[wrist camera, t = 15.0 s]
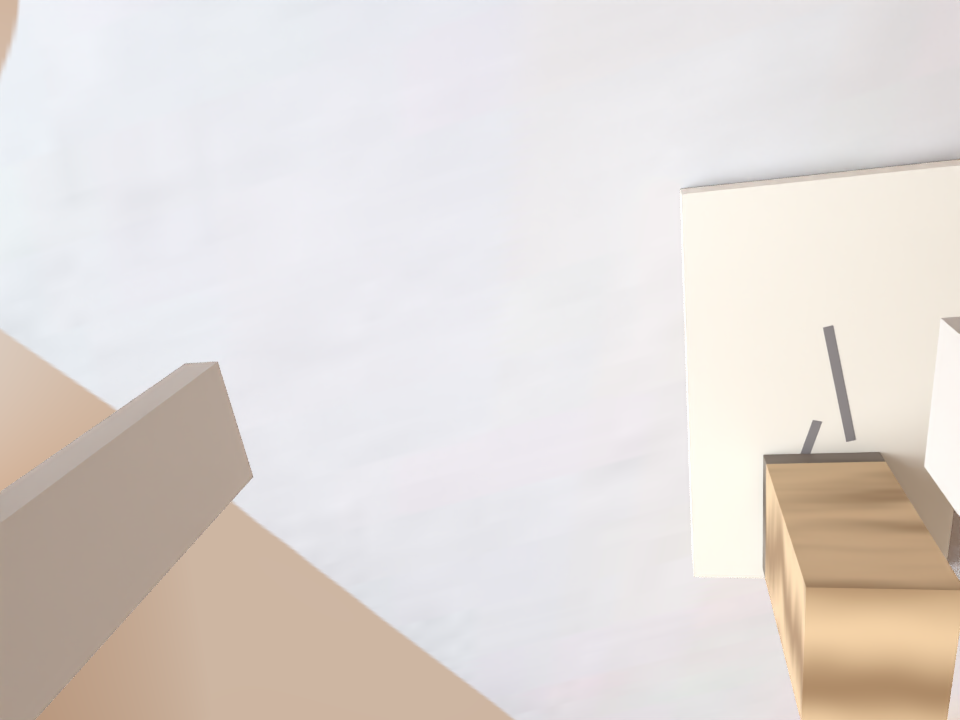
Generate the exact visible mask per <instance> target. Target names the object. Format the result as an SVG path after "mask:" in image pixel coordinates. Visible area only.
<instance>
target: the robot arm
mask: <svg viewBox="0 0 960 720" xmlns="http://www.w3.org/2000/svg"><path fill="white" fill-rule="evenodd" d="M924 467H925V468H926V470H927V471H928V472H929V474H930V475H931V477H932V478H933V480H934V481H935V482H936V484H937V485H938V487H939V488H940V490H941V491H942V492H943V494H944V495H945V497H946V498H947V500H948V501H949V502H950V504H951V505H952V507H953V508H954V509H955V511H956V512H957V514H958V515H959V517H960V317H948V318H941V319H940V328H939V337H938V346H937V355H936V364H935V373H934V382H933V391H932V400H931V409H930V418H929V427H928V436H927V445H926V454H925V463H924ZM252 478H253V475H252V471H251V468H250V465H249V462H248V458H247V455H246V452H245V449H244V445H243V442H242V439H241V436H240V432H239V429H238V426H237V423H236V419H235V416H234V413H233V410H232V407H231V403H230V400H229V397H228V394H227V390H226V387H225V384H224V381H223V377H222V374H221V371H220V368H219V364H218V362H204V363H187V364H184V365H182V366H181V367H180V368H178V369H177V370H175V371H174V372H172V373H171V374H169V375H168V376H167V377H165V378H164V379H162V380H161V381H159V382H158V383H156V384H155V385H154V386H152V387H151V388H149V389H148V390H146V391H145V392H143V393H142V394H141V395H139V396H138V397H136V398H135V399H133V400H132V401H130V402H129V403H128V404H126V405H125V406H123V407H122V408H120V409H119V410H117V411H116V412H115V413H113V414H112V415H111V416H109V417H107V418H106V419H105V420H103V421H102V422H100V423H99V424H97V425H96V426H94V427H93V428H92V429H90V430H89V431H87V432H86V433H84V434H83V435H82V436H80V437H79V438H77V439H76V440H74V441H73V442H71V443H70V444H68V445H67V446H66V447H64V448H63V449H61V450H60V451H58V452H57V453H55V454H54V455H53V456H51V457H50V458H48V459H47V460H45V461H44V462H42V463H41V464H40V465H38V466H37V467H35V468H34V469H32V470H31V471H30V472H28V473H27V474H25V475H24V476H22V477H21V478H20V479H18V480H17V481H15V482H14V483H12V484H11V485H9V486H8V487H6V488H5V489H4V490H2V491H1V492H0V720H35V719H36V718H37V717H38V716H39V715H40V714H41V713H42V712H43V710H44V709H45V708H46V707H47V706H48V705H49V704H50V703H51V702H52V700H53V699H54V698H55V697H56V696H57V695H58V694H59V693H60V692H61V690H62V689H63V688H64V687H65V686H66V685H67V684H68V683H69V682H70V680H71V679H72V678H73V677H74V676H75V675H76V674H77V673H78V672H79V670H80V669H81V668H82V667H83V666H84V665H85V664H86V663H87V661H88V660H89V659H90V658H91V657H92V656H93V655H94V654H95V652H96V651H97V650H98V649H99V648H100V647H101V646H102V645H103V643H104V642H105V641H106V640H107V639H108V638H109V637H110V636H111V635H112V634H113V632H114V631H115V630H116V629H117V628H118V627H119V626H120V625H121V623H122V622H123V621H124V620H125V619H126V618H127V617H128V616H129V615H130V614H131V612H132V611H133V610H134V609H135V608H136V607H137V606H138V604H140V602H141V601H142V600H143V599H144V598H145V597H146V596H147V595H148V593H149V592H150V591H151V590H152V589H153V588H154V587H155V586H156V585H157V583H158V582H159V581H160V580H161V579H162V578H163V577H164V576H165V575H166V573H167V572H168V571H169V570H170V569H171V568H172V567H173V566H174V564H175V563H176V562H177V561H178V560H179V559H180V558H181V557H182V556H183V554H184V553H185V552H186V551H187V550H188V549H189V548H190V547H191V545H192V544H193V543H194V542H195V541H196V540H197V539H198V538H199V537H200V535H201V534H202V533H203V532H204V531H205V530H206V529H207V528H208V527H209V525H210V524H211V523H212V522H213V521H214V520H215V519H216V518H217V517H218V515H219V514H220V513H221V512H222V511H223V510H224V509H225V508H226V507H227V505H228V504H229V503H230V502H231V501H232V500H233V499H234V498H235V496H236V495H237V494H238V493H239V492H240V491H241V490H242V489H243V488H244V486H245V485H246V484H247V483H248V482H249V481H250V480H251V479H252Z"/></svg>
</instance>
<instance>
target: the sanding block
mask: <svg viewBox="0 0 960 720" xmlns="http://www.w3.org/2000/svg"><path fill="white" fill-rule="evenodd" d="M763 572H764V576H765V580H766V584H767V588H768V592H769V596H770V600H771V604H772V608H773V612H774V616H775V620H776V624H777V628H778V632H779V635H780V639H781V643H782V647H783V651H784V655H785V659H786V663H787V667H788V671H789V675H790V679H791V683H792V687H793V691H794V695H795V699H796V703H797V707H798V711H799V715H800V719H801V720H947V716H948V709H949V702H950V695H951V688H952V681H953V674H954V667H955V660H956V653H957V646H958V639H959V632H960V581H959V579H958V578H957V576H956V575H955V573H954V571H953V570H952V568H951V566H950V565H949V563H948V562H947V560H946V558H945V557H944V555H943V554H942V552H941V550H940V549H939V547H938V545H937V544H936V542H935V541H934V539H933V537H932V536H931V534H930V532H929V531H928V529H927V528H926V526H925V524H924V523H923V521H922V520H921V518H920V516H919V515H918V513H917V511H916V510H915V508H914V507H913V505H912V503H911V502H910V500H909V499H908V497H907V495H906V494H905V492H904V490H903V489H902V487H901V486H900V484H899V482H898V481H897V479H896V477H895V476H894V474H893V473H892V471H891V469H890V468H889V466H888V465H887V463H886V461H885V460H884V458H883V456H882V455H881V453H880V452H858V453H815V454H772V455H763Z"/></svg>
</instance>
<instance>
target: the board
mask: <svg viewBox="0 0 960 720" xmlns="http://www.w3.org/2000/svg"><path fill="white" fill-rule="evenodd" d="M680 207H681V237H682V267H683V298H684V328H685V358H686V388H687V418H688V448H689V478H690V509H691V539H692V564H693V572H694V577H720V578H765V576H764V572H763V455H772V454H815V453H858V452H880V453H881V455H882V456H883V458H884V460H885V461H886V463H887V465H888V466H889V468H890V469H891V471H892V473H893V474H894V476H895V477H896V479H897V481H898V482H899V484H900V486H901V487H902V489H903V490H904V492H905V494H906V495H907V497H908V499H909V500H910V502H911V503H912V505H913V507H914V508H915V510H916V511H917V513H918V515H919V516H920V518H921V520H922V521H923V523H924V524H925V526H926V528H927V529H928V531H929V532H930V534H931V536H932V537H933V539H934V541H935V542H936V544H937V545H938V547H939V549H940V550H941V552H942V554H943V555H944V557H945V558H946V560H947V559H948V552H949V544H950V537H951V529H952V522H953V515H954V508H953V507H952V505H951V504H950V502H949V501H948V500H947V498H946V497H945V495H944V494H943V492H942V491H941V490H940V488H939V487H938V485H937V484H936V482H935V481H934V480H933V478H932V477H931V475H930V474H929V472H928V471H927V470H926V468H925V467H924V463H925V454H926V445H927V436H928V427H929V418H930V409H931V400H932V391H933V382H934V373H935V364H936V355H937V346H938V337H939V328H940V319H941V318H948V317H960V159H958V160H948V161H939V162H929V163H920V164H911V165H901V166H892V167H882V168H873V169H864V170H854V171H845V172H835V173H826V174H817V175H807V176H798V177H788V178H779V179H770V180H760V181H751V182H741V183H732V184H723V185H713V186H704V187H694V188H685V189H680Z"/></svg>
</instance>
